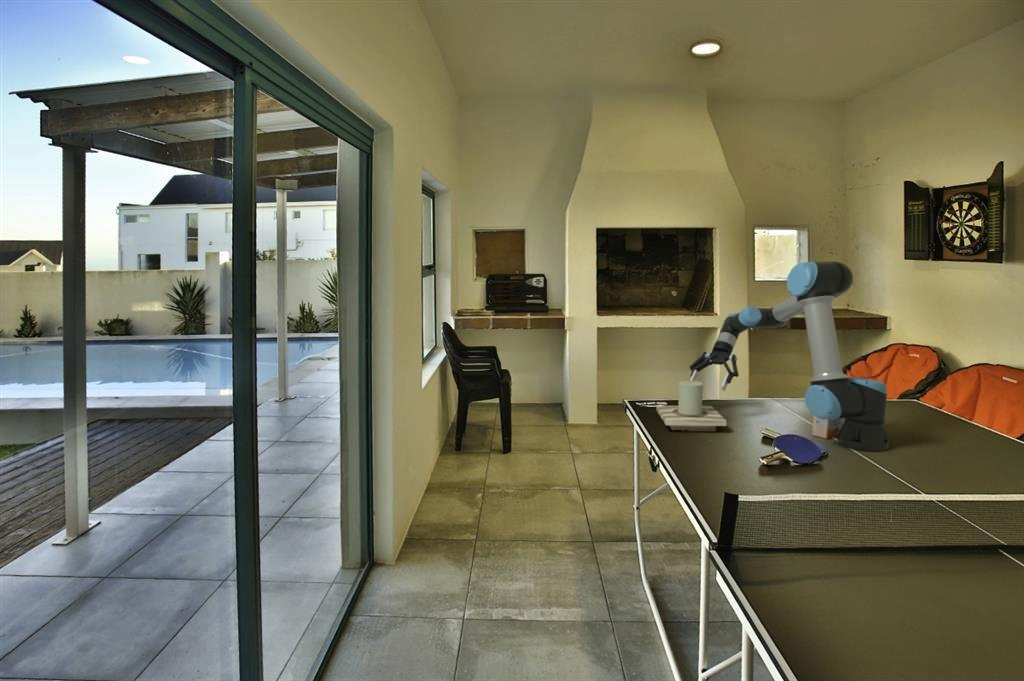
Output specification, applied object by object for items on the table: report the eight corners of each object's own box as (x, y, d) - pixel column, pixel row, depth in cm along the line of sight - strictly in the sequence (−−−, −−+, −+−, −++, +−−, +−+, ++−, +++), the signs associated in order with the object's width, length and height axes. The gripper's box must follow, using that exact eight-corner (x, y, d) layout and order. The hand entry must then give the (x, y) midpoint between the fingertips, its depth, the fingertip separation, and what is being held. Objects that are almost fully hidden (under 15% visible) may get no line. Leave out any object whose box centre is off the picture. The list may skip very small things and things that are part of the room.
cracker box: (828, 439, 204) (831, 382, 202) (810, 436, 209) (814, 379, 206) (846, 432, 213) (850, 377, 210) (829, 429, 217) (833, 374, 215)
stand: (726, 433, 213) (726, 419, 213) (665, 433, 215) (666, 419, 215) (711, 418, 235) (711, 405, 234) (656, 417, 237) (656, 404, 236)
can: (699, 409, 229) (700, 379, 227) (704, 415, 220) (705, 384, 218) (675, 408, 230) (676, 379, 228) (680, 414, 220) (680, 384, 219)
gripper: (756, 353, 234) (739, 396, 225) (699, 348, 251) (681, 387, 242) (751, 342, 229) (734, 385, 221) (693, 337, 247) (675, 377, 238)
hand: (706, 386), depth 231 cm, fingers open, 13 cm apart
